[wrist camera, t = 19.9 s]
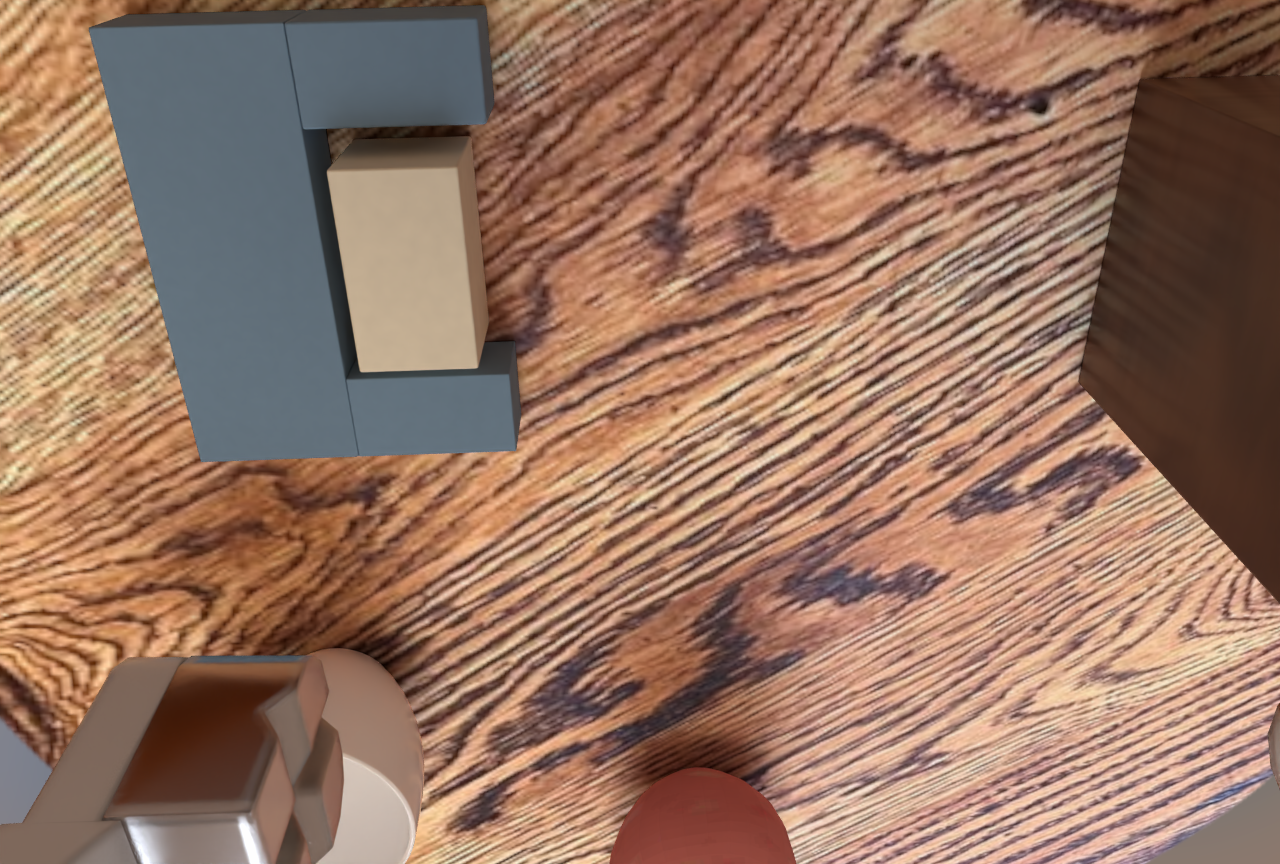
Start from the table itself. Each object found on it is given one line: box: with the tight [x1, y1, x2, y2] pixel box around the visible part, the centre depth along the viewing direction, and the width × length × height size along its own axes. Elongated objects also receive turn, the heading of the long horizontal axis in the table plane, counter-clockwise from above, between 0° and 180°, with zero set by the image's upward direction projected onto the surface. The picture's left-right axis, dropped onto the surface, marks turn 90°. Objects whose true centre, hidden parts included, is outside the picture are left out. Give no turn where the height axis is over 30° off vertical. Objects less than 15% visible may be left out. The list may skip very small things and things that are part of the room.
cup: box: [304, 648, 424, 864], centre depth 38 cm, size 8×10×7 cm
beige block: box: [327, 136, 489, 372], centre depth 31 cm, size 6×4×4 cm, turn 1°
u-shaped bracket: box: [89, 5, 521, 462], centre depth 31 cm, size 13×10×2 cm
